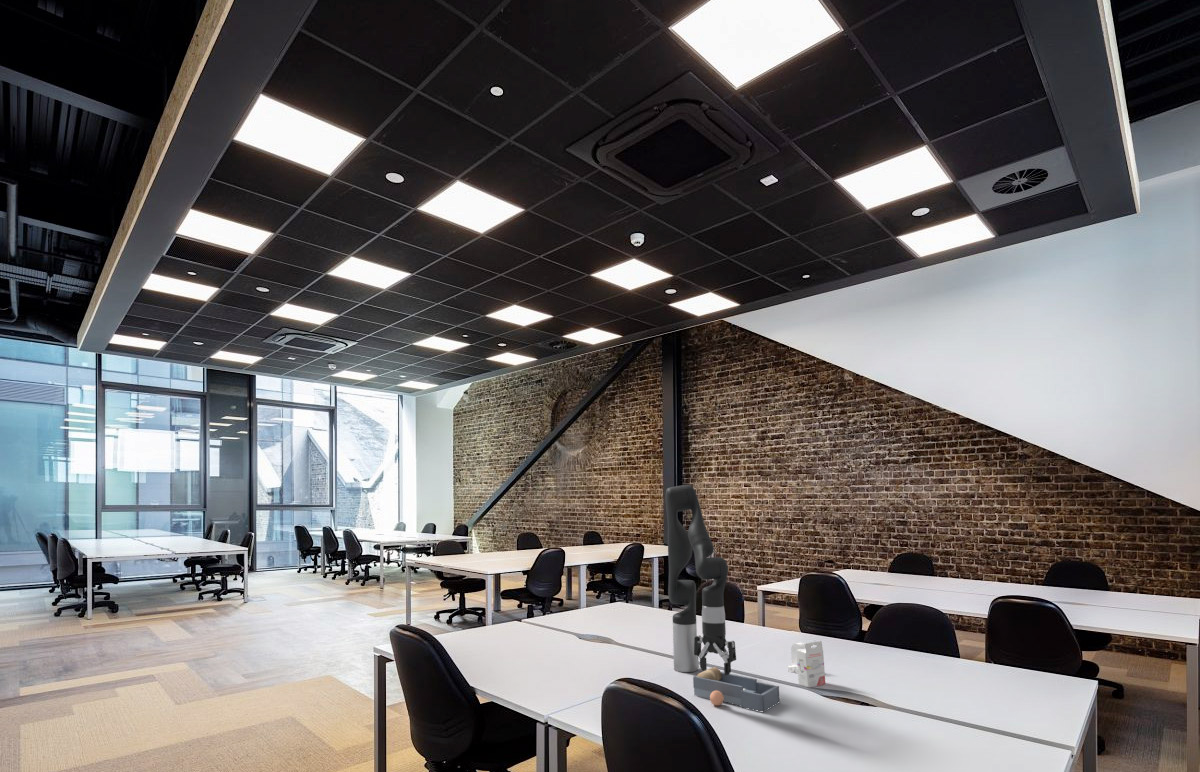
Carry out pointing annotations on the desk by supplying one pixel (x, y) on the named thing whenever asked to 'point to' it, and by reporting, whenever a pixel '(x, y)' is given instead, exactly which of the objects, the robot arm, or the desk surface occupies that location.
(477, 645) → the desk surface
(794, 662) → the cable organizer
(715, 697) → the ball
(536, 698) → the desk surface
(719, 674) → the tan curved piece
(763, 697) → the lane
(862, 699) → the desk surface
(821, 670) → the ink cartridge box
